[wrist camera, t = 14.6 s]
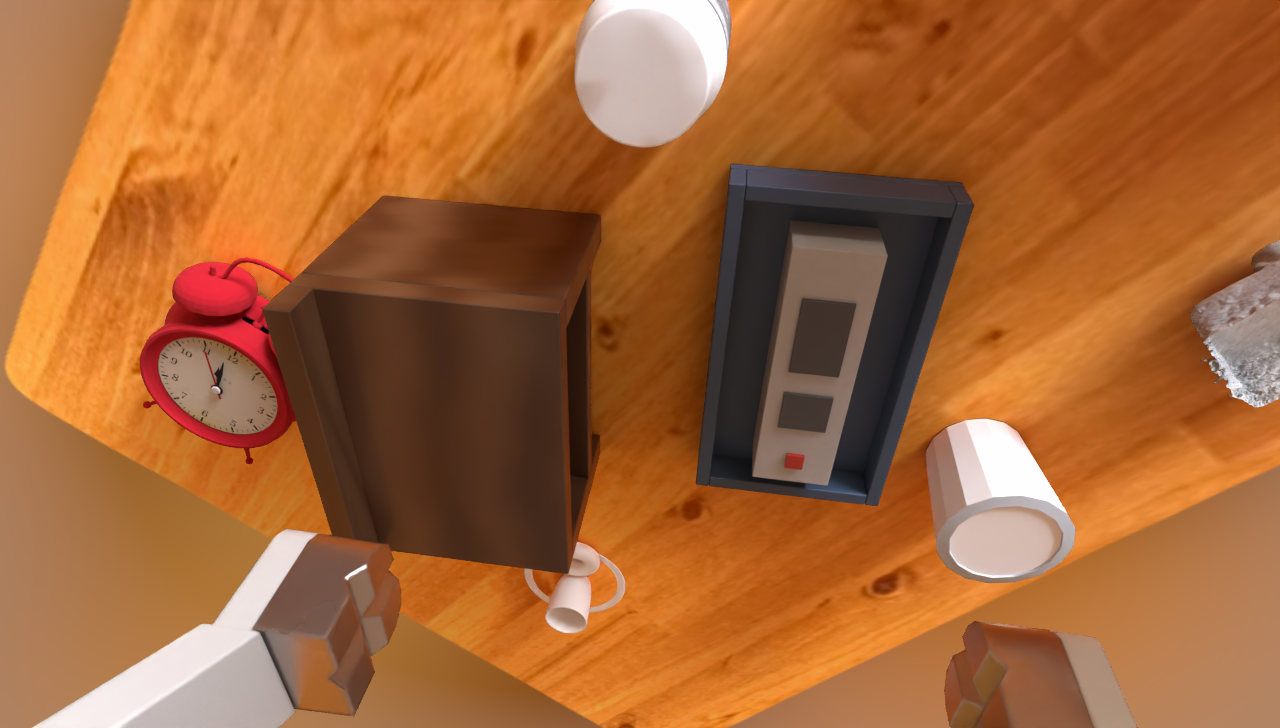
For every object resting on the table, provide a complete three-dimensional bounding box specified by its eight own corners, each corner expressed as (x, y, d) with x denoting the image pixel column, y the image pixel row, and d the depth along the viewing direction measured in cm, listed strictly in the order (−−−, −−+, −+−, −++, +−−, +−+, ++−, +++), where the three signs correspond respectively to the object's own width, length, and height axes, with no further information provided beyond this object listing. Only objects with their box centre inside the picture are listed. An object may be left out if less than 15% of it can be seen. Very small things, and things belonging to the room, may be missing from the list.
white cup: (1062, 435, 43) (1107, 526, 37) (988, 508, 47) (1019, 600, 41) (958, 394, 42) (988, 479, 37) (892, 471, 46) (911, 559, 41)
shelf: (601, 214, 39) (548, 339, 29) (600, 453, 49) (560, 605, 39) (382, 194, 40) (261, 309, 30) (425, 432, 50) (344, 575, 40)
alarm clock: (112, 403, 47) (124, 273, 36) (179, 337, 51) (207, 203, 40) (265, 485, 49) (317, 386, 39) (316, 416, 54) (376, 309, 43)
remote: (790, 219, 37) (792, 248, 34) (879, 227, 36) (888, 257, 34) (752, 443, 46) (751, 479, 43) (824, 451, 45) (828, 488, 43)
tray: (962, 182, 35) (975, 203, 33) (872, 476, 47) (877, 506, 45) (730, 163, 36) (728, 183, 34) (698, 456, 48) (695, 484, 46)
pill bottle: (655, 112, 35) (624, 193, 27) (579, 8, 33) (522, 62, 25) (757, 37, 33) (757, 101, 25) (683, -82, 30) (655, -54, 22)
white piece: (564, 519, 54) (551, 563, 50) (652, 569, 56) (645, 615, 52) (508, 575, 58) (493, 619, 55) (591, 620, 60) (581, 665, 57)
